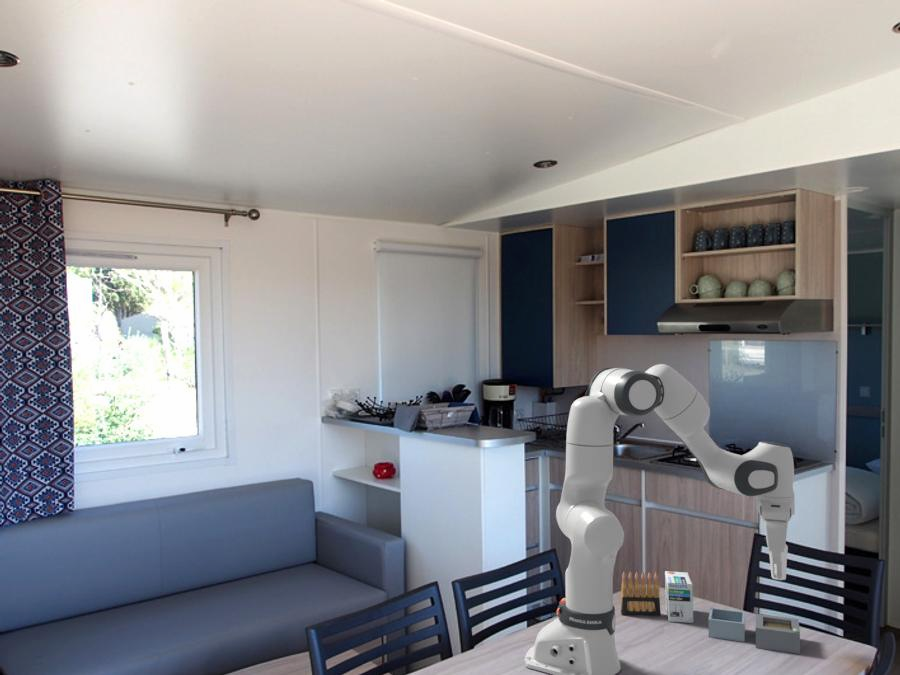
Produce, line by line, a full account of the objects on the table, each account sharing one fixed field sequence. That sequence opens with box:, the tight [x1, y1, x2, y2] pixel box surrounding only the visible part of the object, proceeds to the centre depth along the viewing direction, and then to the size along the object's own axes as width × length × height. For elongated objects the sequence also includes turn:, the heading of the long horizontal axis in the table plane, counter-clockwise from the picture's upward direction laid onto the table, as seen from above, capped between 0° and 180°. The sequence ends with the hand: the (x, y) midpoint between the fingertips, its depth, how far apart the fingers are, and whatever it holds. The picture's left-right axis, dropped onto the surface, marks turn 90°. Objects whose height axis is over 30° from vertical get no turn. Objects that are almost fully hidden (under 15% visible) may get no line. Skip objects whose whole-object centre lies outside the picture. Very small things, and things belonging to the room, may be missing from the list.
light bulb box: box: [664, 570, 694, 624], centre depth 204 cm, size 11×7×11 cm, turn 168°
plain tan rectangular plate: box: [764, 622, 790, 630], centre depth 185 cm, size 6×6×1 cm
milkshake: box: [764, 536, 789, 581], centre depth 185 cm, size 4×5×10 cm
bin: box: [707, 607, 746, 643], centre depth 192 cm, size 9×9×5 cm
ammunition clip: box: [620, 571, 662, 617], centre depth 205 cm, size 11×2×12 cm, turn 84°
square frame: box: [755, 613, 801, 655], centre depth 185 cm, size 10×10×6 cm
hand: (776, 560), depth 185 cm, fingers closed on milkshake, 4 cm apart
